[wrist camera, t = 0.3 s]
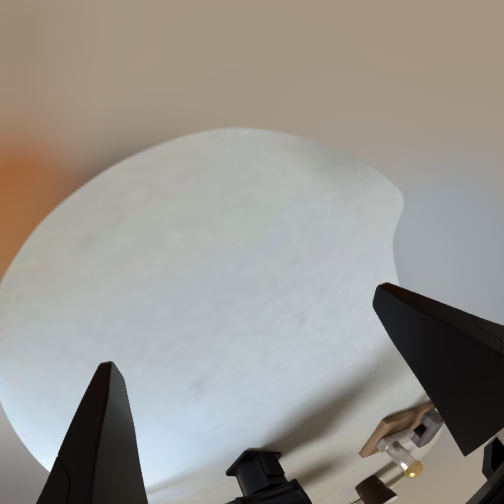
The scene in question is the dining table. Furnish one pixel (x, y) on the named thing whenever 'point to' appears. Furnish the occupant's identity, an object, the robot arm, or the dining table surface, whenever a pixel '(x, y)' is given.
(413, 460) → the knob
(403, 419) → the plate
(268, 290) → the dining table surface
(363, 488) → the coffee mug
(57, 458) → the robot arm
